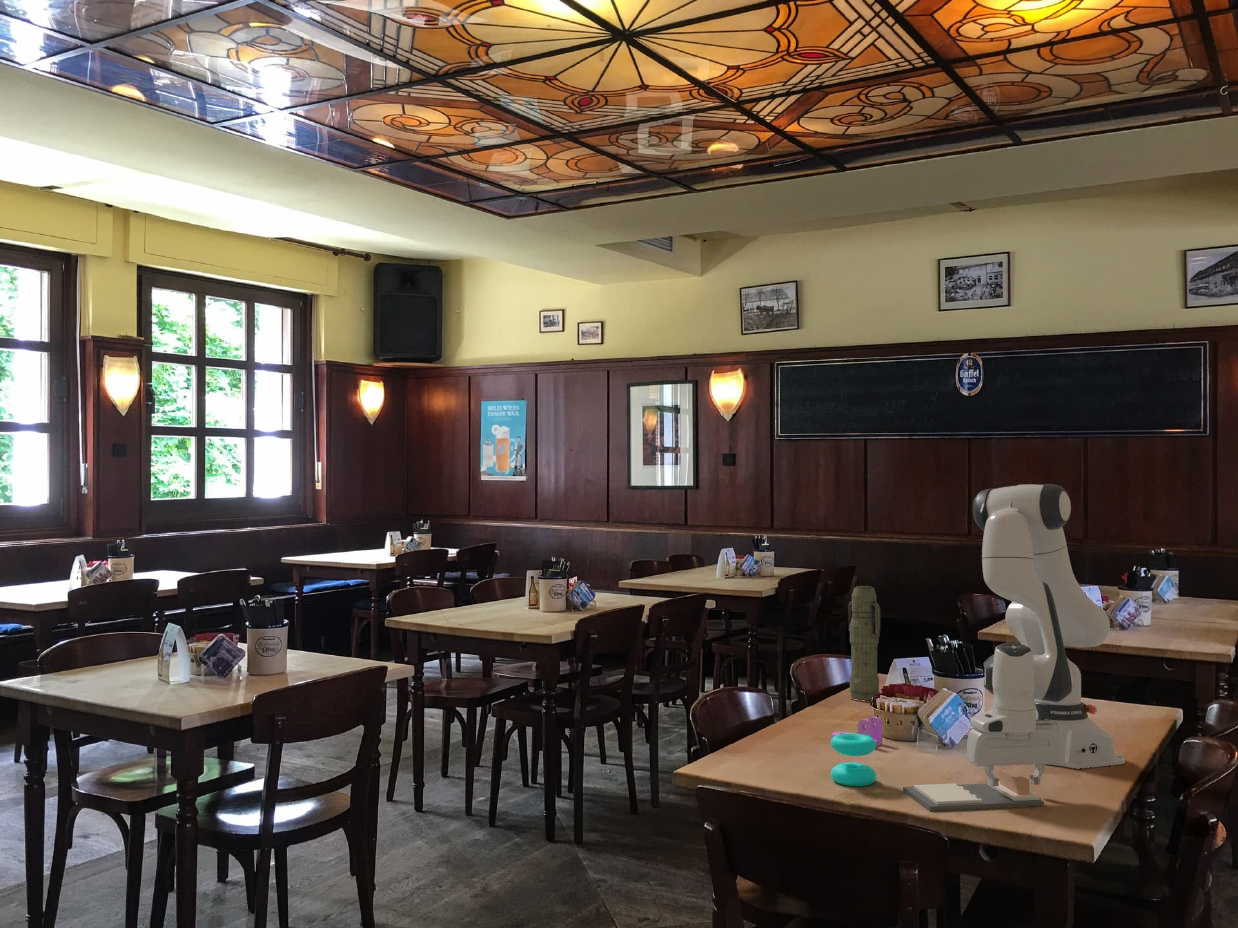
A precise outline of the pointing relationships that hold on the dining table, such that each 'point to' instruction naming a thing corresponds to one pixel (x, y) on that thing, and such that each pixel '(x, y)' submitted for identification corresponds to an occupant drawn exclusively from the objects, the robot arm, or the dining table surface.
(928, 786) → the pad
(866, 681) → the thermos
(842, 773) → the donuts
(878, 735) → the bracket
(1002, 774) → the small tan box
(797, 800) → the dining table surface
